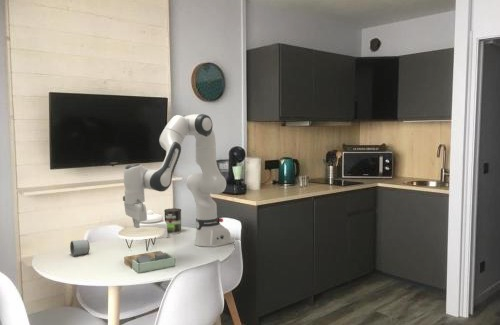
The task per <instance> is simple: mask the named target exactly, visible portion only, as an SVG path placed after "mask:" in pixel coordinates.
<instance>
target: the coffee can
mask: <svg viewBox="0 0 500 325" xmlns="http://www.w3.org/2000/svg"><path fill="white" fill-rule="evenodd" d="M163 212H164V220H165V222H166V224H167V235H177V234H180V233H182V209H181V208H174V207H173V208H165V209H164V210H163Z"/></svg>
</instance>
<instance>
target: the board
mask: <svg viewBox="0 0 500 325" xmlns="http://www.w3.org/2000/svg"><path fill="white" fill-rule="evenodd" d="M159 253H164V252H163V251H161V250H157V251H156V250H155V251H151V252H144V253H140V254H139V253H138V254H133V255H129V256H127V255H126V256H123V263H124V264H125V265H126V266H128V267H129V268H130V269H132V260H135V261H136V260H137V257H140V256H146V255H148V257H149V259H150V258H155V254H159Z"/></svg>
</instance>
